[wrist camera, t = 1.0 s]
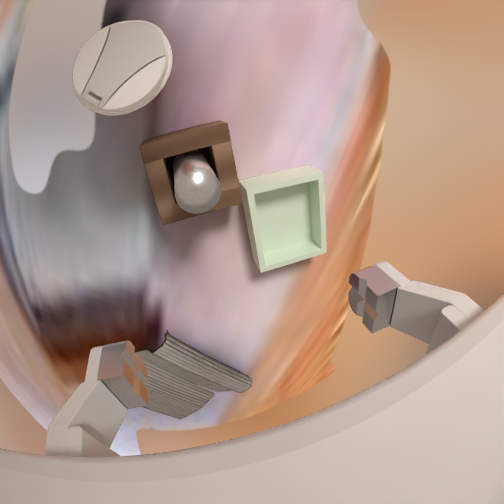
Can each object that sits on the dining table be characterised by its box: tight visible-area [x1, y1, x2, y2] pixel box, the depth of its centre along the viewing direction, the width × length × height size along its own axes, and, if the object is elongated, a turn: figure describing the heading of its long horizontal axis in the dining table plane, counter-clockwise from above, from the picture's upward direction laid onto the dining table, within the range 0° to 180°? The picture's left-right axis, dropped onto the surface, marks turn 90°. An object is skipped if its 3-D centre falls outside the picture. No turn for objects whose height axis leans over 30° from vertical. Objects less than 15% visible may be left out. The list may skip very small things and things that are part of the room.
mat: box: [135, 331, 252, 419], centre depth 50 cm, size 23×24×5 cm
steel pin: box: [174, 150, 221, 214], centre depth 28 cm, size 4×4×11 cm
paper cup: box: [72, 20, 173, 116], centre depth 19 cm, size 8×8×14 cm
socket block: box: [139, 121, 242, 225], centre depth 30 cm, size 9×9×5 cm
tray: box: [238, 165, 326, 273], centre depth 37 cm, size 12×10×4 cm
